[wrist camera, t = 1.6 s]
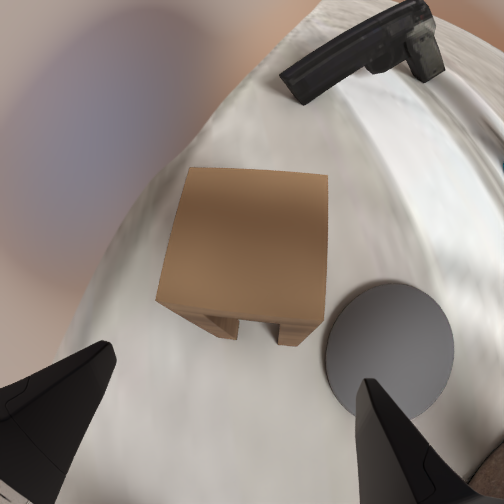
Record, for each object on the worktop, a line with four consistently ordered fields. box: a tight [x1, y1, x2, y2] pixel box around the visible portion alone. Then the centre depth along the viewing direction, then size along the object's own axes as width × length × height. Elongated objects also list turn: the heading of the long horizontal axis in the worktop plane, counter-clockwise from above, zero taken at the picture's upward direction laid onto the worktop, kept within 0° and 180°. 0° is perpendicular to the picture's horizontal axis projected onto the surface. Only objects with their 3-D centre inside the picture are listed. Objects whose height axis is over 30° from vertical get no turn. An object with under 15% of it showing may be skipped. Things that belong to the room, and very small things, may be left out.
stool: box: [155, 167, 328, 346], centre depth 16 cm, size 6×6×12 cm
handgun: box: [279, 0, 445, 106], centre depth 28 cm, size 2×24×15 cm, turn 114°
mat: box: [326, 284, 454, 419], centre depth 19 cm, size 11×11×1 cm
